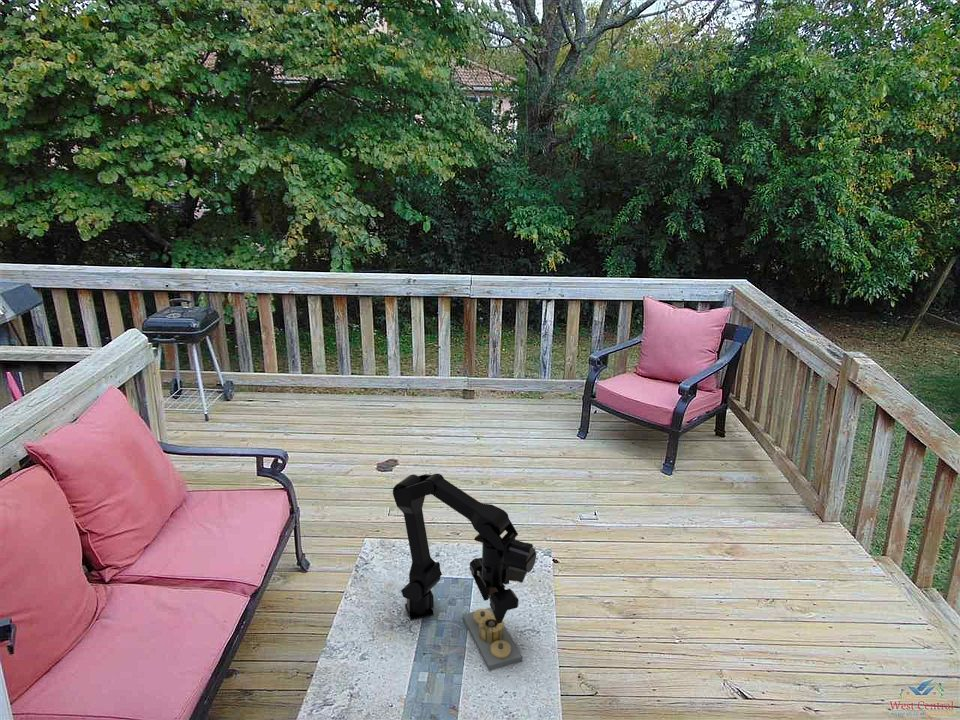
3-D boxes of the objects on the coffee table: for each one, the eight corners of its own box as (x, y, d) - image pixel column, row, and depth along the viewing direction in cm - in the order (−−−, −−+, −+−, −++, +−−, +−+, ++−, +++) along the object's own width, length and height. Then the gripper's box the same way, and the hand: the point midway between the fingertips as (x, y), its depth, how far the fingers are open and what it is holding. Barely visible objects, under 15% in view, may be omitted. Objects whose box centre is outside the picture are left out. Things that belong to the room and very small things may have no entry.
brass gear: (484, 646, 164) (484, 634, 163) (475, 629, 170) (475, 618, 169) (507, 639, 167) (507, 628, 165) (497, 623, 172) (498, 612, 171)
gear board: (488, 670, 159) (489, 652, 157) (462, 619, 176) (462, 601, 174) (522, 661, 162) (523, 643, 160) (493, 611, 179) (493, 594, 177)
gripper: (539, 573, 156) (536, 627, 160) (508, 532, 172) (507, 582, 177) (496, 583, 152) (494, 638, 157) (469, 540, 168) (468, 591, 173)
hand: (492, 611), depth 166 cm, fingers open, 9 cm apart
